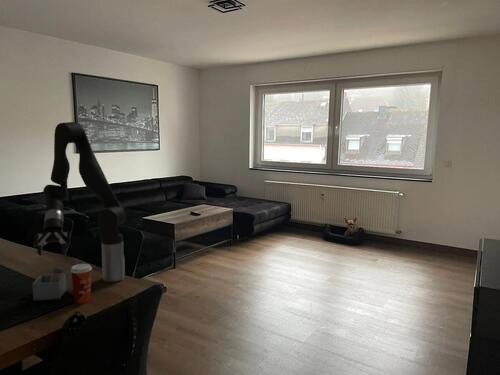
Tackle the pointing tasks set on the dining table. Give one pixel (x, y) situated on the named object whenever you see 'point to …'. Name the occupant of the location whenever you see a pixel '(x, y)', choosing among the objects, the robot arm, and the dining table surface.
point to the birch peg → (56, 274)
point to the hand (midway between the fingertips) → (51, 253)
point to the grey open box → (48, 288)
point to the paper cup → (81, 282)
